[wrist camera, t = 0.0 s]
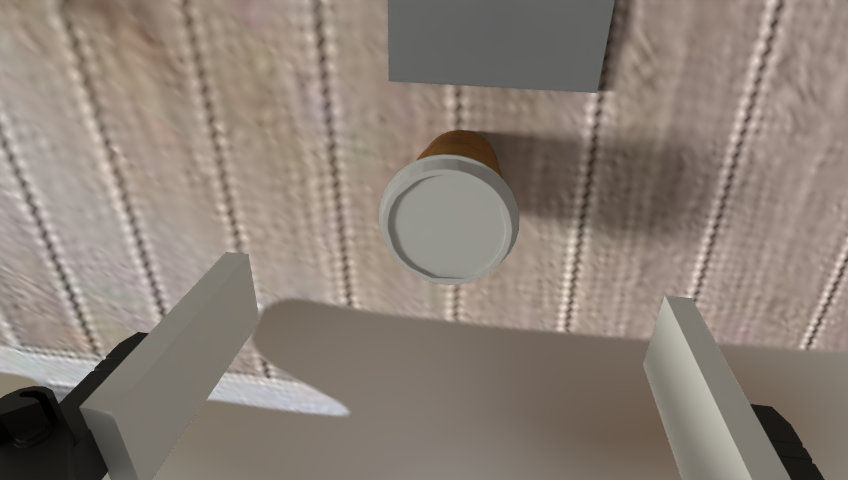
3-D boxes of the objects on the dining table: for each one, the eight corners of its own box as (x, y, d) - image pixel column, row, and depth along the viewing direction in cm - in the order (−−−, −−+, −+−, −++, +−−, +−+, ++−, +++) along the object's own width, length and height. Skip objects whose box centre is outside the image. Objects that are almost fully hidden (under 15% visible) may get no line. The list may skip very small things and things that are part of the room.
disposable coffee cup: (388, 185, 45) (353, 252, 35) (435, 89, 41) (411, 134, 30) (481, 232, 46) (474, 311, 36) (538, 144, 42) (549, 206, 31)
